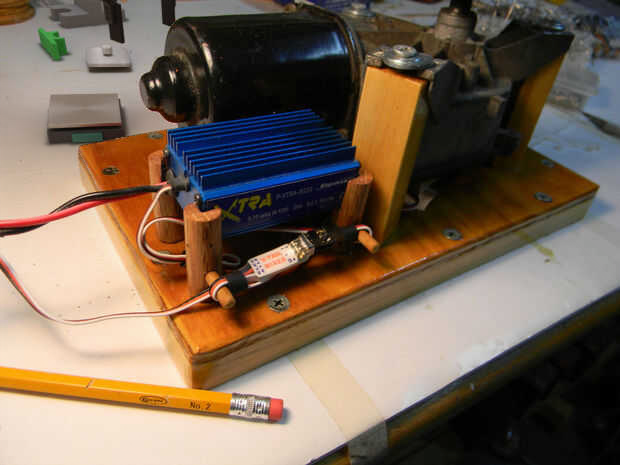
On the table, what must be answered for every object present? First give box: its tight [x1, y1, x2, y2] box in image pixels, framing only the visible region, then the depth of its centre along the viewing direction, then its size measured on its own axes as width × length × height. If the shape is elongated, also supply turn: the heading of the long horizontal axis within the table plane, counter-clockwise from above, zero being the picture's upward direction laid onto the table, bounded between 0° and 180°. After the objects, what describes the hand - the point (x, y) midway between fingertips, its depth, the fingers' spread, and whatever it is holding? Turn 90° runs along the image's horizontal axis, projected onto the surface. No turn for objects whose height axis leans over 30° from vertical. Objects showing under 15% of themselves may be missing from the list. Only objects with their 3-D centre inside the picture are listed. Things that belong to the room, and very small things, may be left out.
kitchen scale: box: [46, 98, 126, 144], centre depth 92 cm, size 13×14×3 cm
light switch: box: [84, 44, 133, 68], centre depth 114 cm, size 10×10×5 cm
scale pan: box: [47, 92, 122, 129], centre depth 91 cm, size 12×12×1 cm
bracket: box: [49, 0, 127, 29], centre depth 134 cm, size 10×18×11 cm, turn 135°
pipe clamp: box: [37, 27, 69, 61], centre depth 116 cm, size 11×4×5 cm, turn 39°
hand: (144, 33), depth 89 cm, fingers open, 13 cm apart
